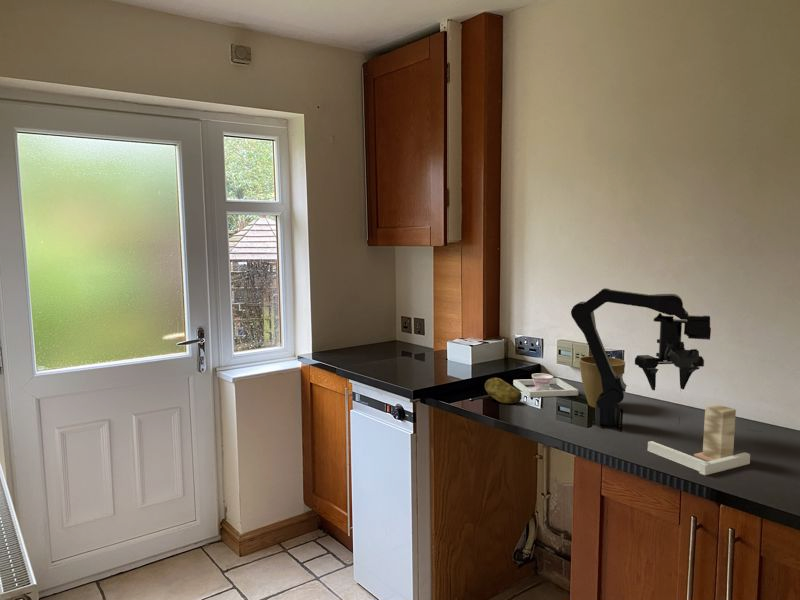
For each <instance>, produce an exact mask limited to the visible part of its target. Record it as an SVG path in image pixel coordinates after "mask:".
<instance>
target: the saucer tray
mask: <svg viewBox="0 0 800 600" xmlns="http://www.w3.org/2000/svg"><path fill="white" fill-rule="evenodd" d="M512 383H513V384H512V386H513V387H515V388H516V389H517V390H519V391H520V392H522V393H524V394H525V395H527V396H528V397H529V398H543V397H544V398H546V397H567V396H568V397H570V396H579V389H578V388H575V387H574V386H572V385H570V384H569V383H567V382H566V381H564V380H563V379H560V378H558V377H557V378H556V377H555V378H554V377H553V379H552V380H551V382H550V385H558V386H559V387H561V388H562V389H556V390H544V391H537V390H536V391H531V390H530V389H529V387H527V386H535V383H534V381H533V378H531V379H529V378H528V379H513V381H512Z"/></svg>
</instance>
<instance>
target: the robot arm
mask: <svg viewBox="0 0 800 600" xmlns="http://www.w3.org/2000/svg"><path fill="white" fill-rule="evenodd" d="M605 303H612V304H619V305H627V306H634V307H639V308H647V309H649V310H653V311H656V312H659V313H658V314H657V316H655V317H654V318H653V322H656V323H657V322H658V323H659V324H660V325H659V339H656V343H657V344H658V352H656V355H655V356H656V357H654V356H651V355H649V354H643V355H642V354H639V355H636V356H635V358H634V365H636V366H637V367H638V368H640V369H641V370H642V371H643V373H644V375H645V376H646V377H645V378H647V381H648V384H649V387H650V389H651V391H656V386H657V385H656V384H657V383H656V381H657V373H658V371H659V368H657V367H658V365H674V366H675V367H676V368H678V369H679V370H678V371H679V387H680V389H681V390H685V388H686V386H687V384H688V382H689V379H690V378H691V376H692V374H693V373H694V372H695V371H697V370H700V367H705V359H704V357H703V356H701V355H700V352H699V350H698V349H697V348H693V349H692V348H691V349H686V348H685V343H684V341H682V332H683V335H685V336H687V338H688V339H690V340H691V339H693V340H704V341H705V340H707V341H708V340H709V341H710V340H711V332H712V328H711V316H710V315H691V314H689V311H687V310H685V308H684V302H683V299H682V298H681V296H680V295H678V294H675V293H660V294H659V293H657V294H645V293H640V292H639V293H638V292H632V291H624V290H616V289H611V288H607V287H604V288H602V289H600V290H599V291H598V292H597V293H596V294H595V295H593V296H592V297H590V298H589V299H587V301H579V302H577V303H576V304H575V305H574V306H572V309H571V310H570V315H571V318H572V319H573V321H574V322H575V324H576V326H577V327H578V328H579V329H580V331H581V332H582V334H583V335H584V337H585V341H586V343H587V345H588V347H589V348H588V349H589V350H590V352H591V356H593V358H594V360H595V363H596V365H597V368H598V370H599V373H600V375H601V382H602V389H603V392H602V393H601V394H600V395H599V397H598V399H597V401H596V403H597V404H596V406H595V408H594V419H592V420H591V421H592V424H594V425H596V426H597V427H599V428H601V429H614V428H616V429H617V428H622V425H621V424H620V423H621V410H620V405H618V404H620V403H621V402H622V401H623V400H624V398H625V394H626V388H627V386H628V385H627V384H626V382H625V381H624V379H623V378H624V377H623V376H622V374H620V375H618V376H617V374H616V373H615V372H614V370H613V369H612V366H611V364H610V361H609V359H608V357H609V356H608V353H607V352H606V348H605V347H604V344H603V342H602V339H601V336H600V334H599V332H598V329H597V324H596V316H595V313H594V312H595V311H596V310H597V309H598V308H600V307H602V306H603V305H605ZM663 314H665V315H663ZM674 316H675V317H677V318H678V319H674ZM683 324H684V326H683V327H682V325H683ZM682 329H683V331H682Z"/></svg>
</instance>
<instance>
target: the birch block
mask: <svg viewBox="0 0 800 600" xmlns="http://www.w3.org/2000/svg"><path fill="white" fill-rule="evenodd" d="M736 412H737V409H736V408H732V407H729V406H728V407H727V406H724V405H721V404H713V405H708V406H705V407H704V423H703V424H704V425H703V441H702V452H703V455H704V456H707V457H710V458H712V459H715V460H716V459H720V458H724V457H728V456H732V455H734V446H735V444H734V443H735V429H736V416H737V415H736Z"/></svg>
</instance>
